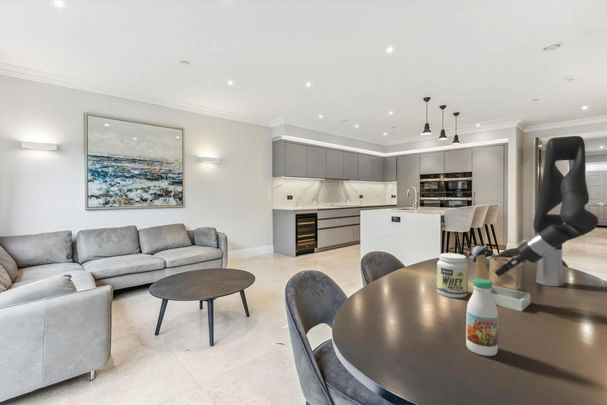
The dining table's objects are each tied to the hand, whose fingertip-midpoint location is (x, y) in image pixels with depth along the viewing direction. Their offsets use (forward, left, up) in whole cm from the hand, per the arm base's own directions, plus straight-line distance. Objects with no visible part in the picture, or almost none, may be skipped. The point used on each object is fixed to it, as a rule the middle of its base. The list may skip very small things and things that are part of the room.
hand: (499, 272), depth 120 cm
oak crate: (-1, +1, -5) cm, 5 cm away
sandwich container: (-7, -12, -12) cm, 19 cm away
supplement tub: (+15, -9, -12) cm, 21 cm away
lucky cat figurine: (-26, -54, -12) cm, 61 cm away
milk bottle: (+29, +36, -12) cm, 48 cm away
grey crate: (-1, +1, -12) cm, 12 cm away
